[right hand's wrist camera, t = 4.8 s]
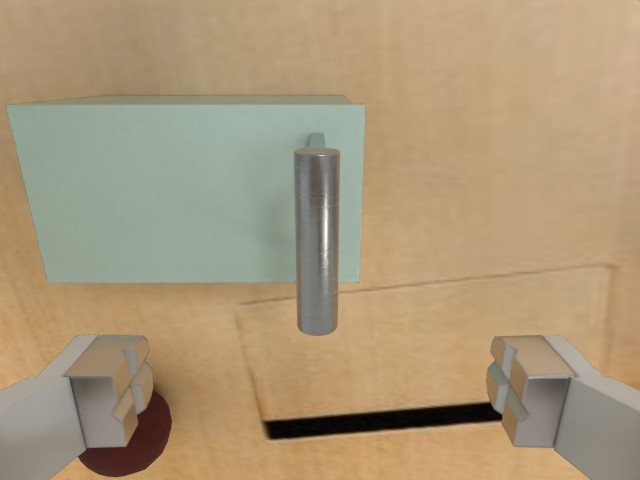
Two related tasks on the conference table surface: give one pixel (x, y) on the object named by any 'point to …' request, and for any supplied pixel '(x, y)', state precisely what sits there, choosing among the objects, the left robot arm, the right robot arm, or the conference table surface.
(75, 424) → the right robot arm
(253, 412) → the conference table surface
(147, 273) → the lid
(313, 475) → the conference table surface
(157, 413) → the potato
